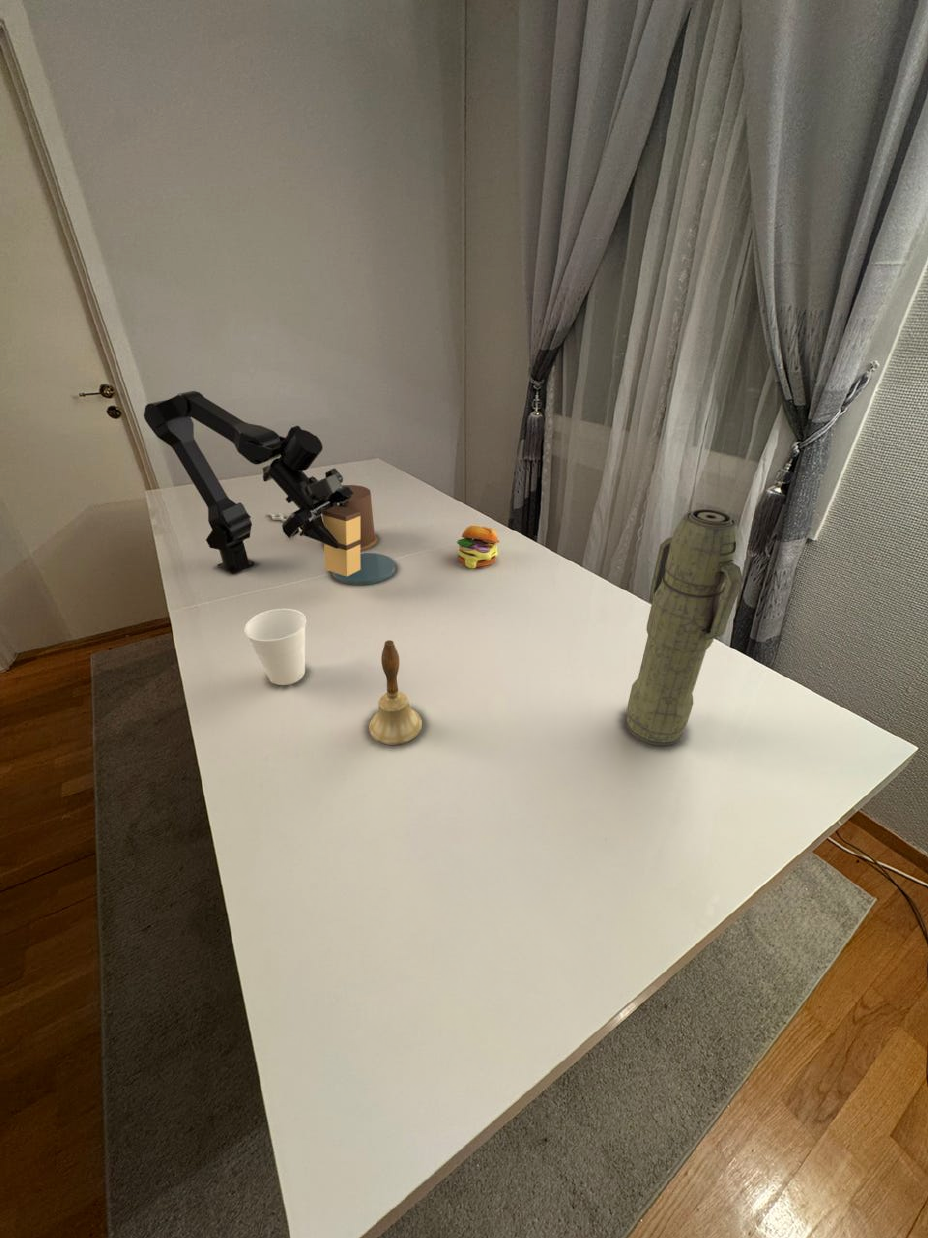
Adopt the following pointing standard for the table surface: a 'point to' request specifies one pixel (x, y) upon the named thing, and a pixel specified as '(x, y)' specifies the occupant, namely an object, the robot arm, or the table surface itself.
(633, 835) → the table surface
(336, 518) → the cake slice
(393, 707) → the hand bell
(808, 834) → the table surface
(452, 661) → the table surface
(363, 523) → the cake
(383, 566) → the plate
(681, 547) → the thermos
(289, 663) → the cup
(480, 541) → the cheeseburger
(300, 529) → the scissors
